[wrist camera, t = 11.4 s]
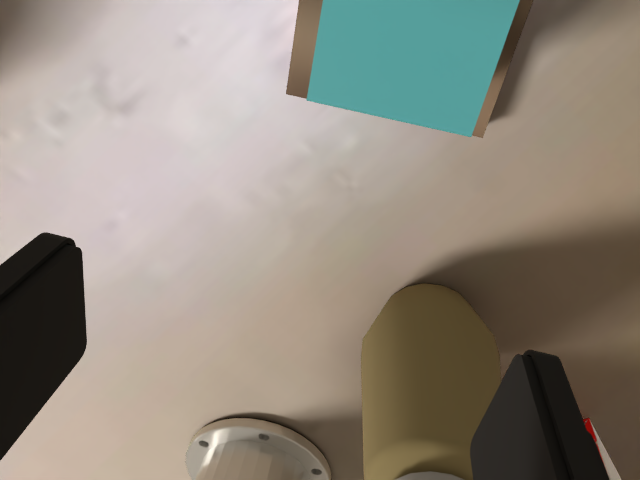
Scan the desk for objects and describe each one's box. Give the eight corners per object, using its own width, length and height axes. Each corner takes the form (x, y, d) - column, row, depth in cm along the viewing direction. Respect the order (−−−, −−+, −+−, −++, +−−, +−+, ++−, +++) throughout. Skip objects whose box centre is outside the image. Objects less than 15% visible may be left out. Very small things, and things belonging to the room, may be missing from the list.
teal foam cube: (459, 92, 25) (471, 137, 20) (327, 63, 25) (306, 100, 20) (508, -61, 21) (539, -55, 16) (356, -93, 21) (338, -97, 16)
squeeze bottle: (512, 286, 32) (604, 623, 17) (464, 375, 36) (502, 705, 21) (384, 252, 32) (359, 556, 17) (352, 344, 36) (309, 652, 21)
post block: (479, 127, 27) (493, 171, 22) (291, 85, 27) (267, 120, 23) (561, -100, 21) (602, -105, 17) (325, -149, 22) (302, -167, 17)
